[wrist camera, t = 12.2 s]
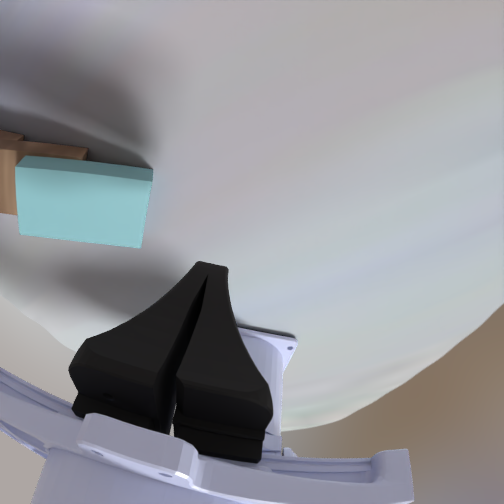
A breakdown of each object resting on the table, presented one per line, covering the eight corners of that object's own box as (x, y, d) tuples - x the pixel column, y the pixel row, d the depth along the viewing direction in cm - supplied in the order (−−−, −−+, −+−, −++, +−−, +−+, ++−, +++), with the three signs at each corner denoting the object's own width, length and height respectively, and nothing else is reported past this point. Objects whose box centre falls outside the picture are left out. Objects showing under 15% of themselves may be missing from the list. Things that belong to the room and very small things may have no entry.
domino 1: (81, 158, 16) (-29, 147, 13) (76, 223, 19) (-25, 209, 15) (87, 148, 18) (-17, 138, 14) (81, 210, 20) (-15, 197, 17)
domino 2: (152, 181, 17) (15, 166, 14) (140, 248, 20) (19, 234, 16) (153, 169, 18) (25, 155, 15) (141, 232, 21) (27, 219, 18)
